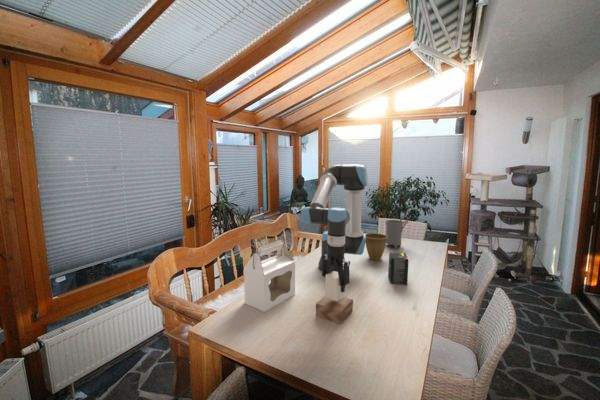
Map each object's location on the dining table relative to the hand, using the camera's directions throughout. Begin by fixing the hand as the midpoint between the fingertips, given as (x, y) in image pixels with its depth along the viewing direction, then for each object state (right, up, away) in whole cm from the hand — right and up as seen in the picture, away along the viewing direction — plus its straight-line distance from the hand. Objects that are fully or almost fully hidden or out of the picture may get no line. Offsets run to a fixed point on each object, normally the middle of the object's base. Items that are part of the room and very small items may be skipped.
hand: (334, 295), depth 126 cm
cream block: (0, 0, 0) cm, 0 cm away
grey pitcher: (+59, +5, +100) cm, 116 cm away
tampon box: (+40, -4, +36) cm, 54 cm away
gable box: (-29, -7, +14) cm, 33 cm away
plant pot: (+36, +1, +71) cm, 80 cm away
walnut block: (0, -9, +1) cm, 9 cm away
